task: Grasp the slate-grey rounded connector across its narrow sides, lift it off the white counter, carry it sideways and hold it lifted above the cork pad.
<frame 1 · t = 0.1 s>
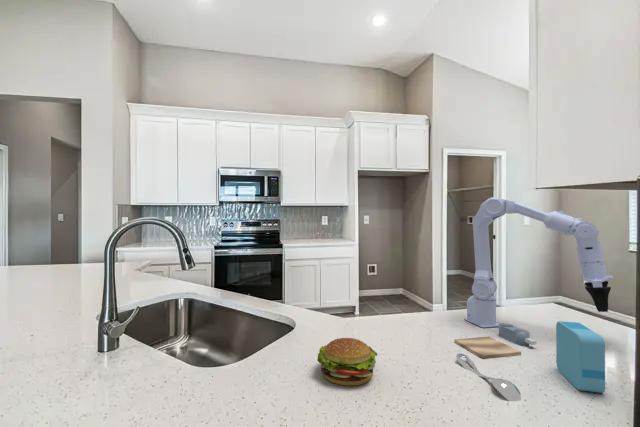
hand: (602, 308, 97), 11 cm above the countertop, tool pointing down, fingers open, 7 cm apart
cork pad: (486, 348, 94), on the countertop
food: (347, 374, 79), on the countertop
silver spoon: (483, 380, 77), on the countertop
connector: (513, 339, 101), on the countertop
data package: (578, 382, 75), on the countertop
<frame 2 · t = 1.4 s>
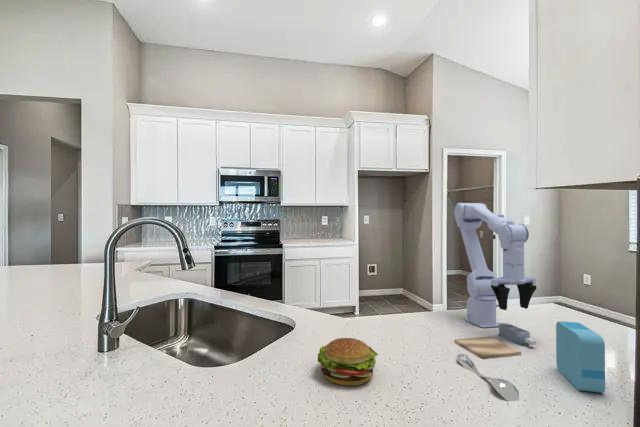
hand: (513, 308, 101), 9 cm above the countertop, tool pointing down, fingers open, 7 cm apart
nothing on the countertop moved.
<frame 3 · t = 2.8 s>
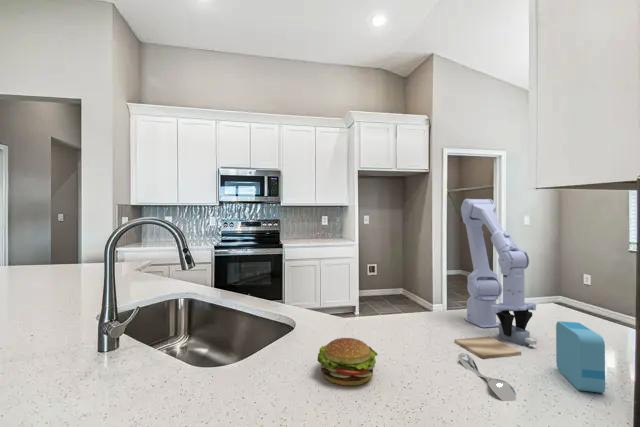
hand: (513, 334, 101), 1 cm above the countertop, tool pointing down, fingers closed on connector, 4 cm apart
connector: (513, 339, 101), on the countertop, touching gripper
everything else where it was.
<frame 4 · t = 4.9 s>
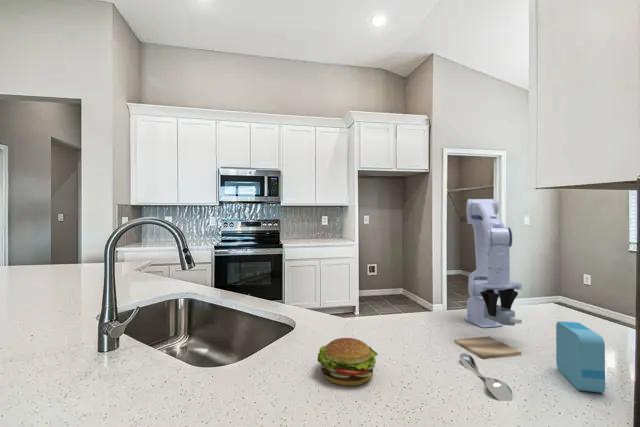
hand: (498, 315, 97), 8 cm above the countertop, tool pointing down, fingers closed on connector, 4 cm apart
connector: (498, 320, 97), point 7 cm above the countertop, touching gripper
everything else where it was.
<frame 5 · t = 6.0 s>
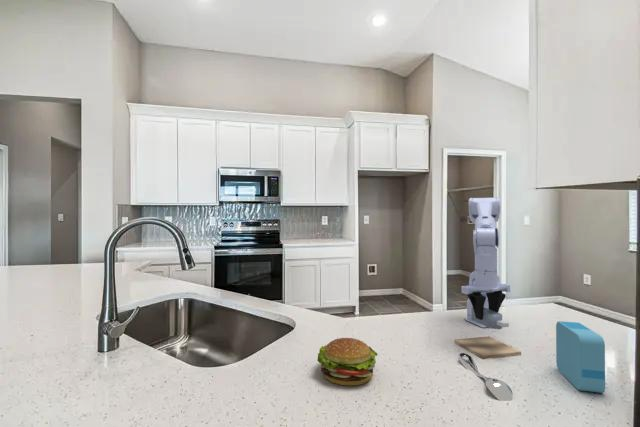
hand: (486, 318, 94), 8 cm above the countertop, tool pointing down, fingers closed on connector, 4 cm apart
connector: (486, 323, 94), point 7 cm above the countertop, touching gripper
everything else where it was.
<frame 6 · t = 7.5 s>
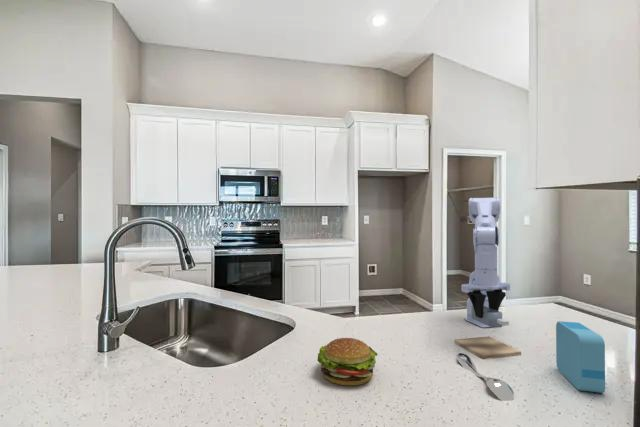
hand: (486, 316, 94), 9 cm above the countertop, tool pointing down, fingers closed on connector, 4 cm apart
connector: (486, 321, 94), point 7 cm above the countertop, touching gripper
everything else where it was.
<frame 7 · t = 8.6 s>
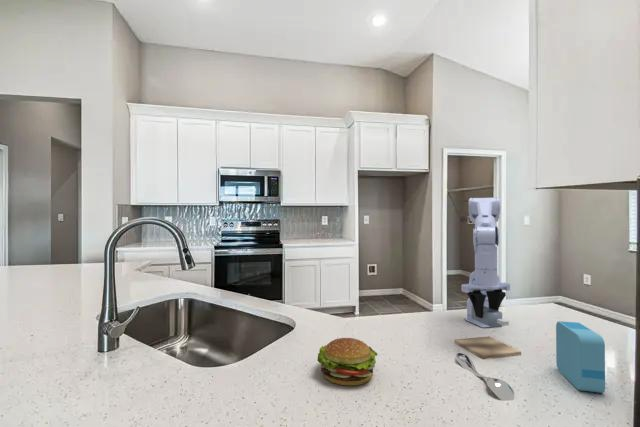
hand: (486, 316, 94), 9 cm above the countertop, tool pointing down, fingers closed on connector, 4 cm apart
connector: (486, 321, 94), point 7 cm above the countertop, touching gripper
everything else where it was.
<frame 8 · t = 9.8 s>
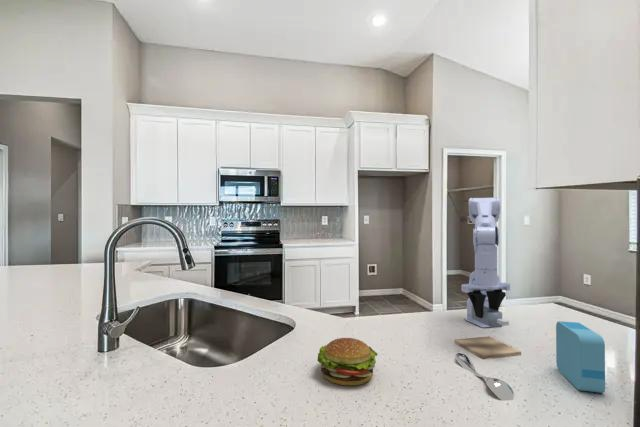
hand: (486, 316, 94), 9 cm above the countertop, tool pointing down, fingers closed on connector, 4 cm apart
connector: (486, 321, 94), point 7 cm above the countertop, touching gripper
everything else where it was.
at the end: the gripper is holding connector; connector inside the target area on the cork pad (0.1 cm from its centre), point 7.5 cm above the cork pad's base; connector tilted 0° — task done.
